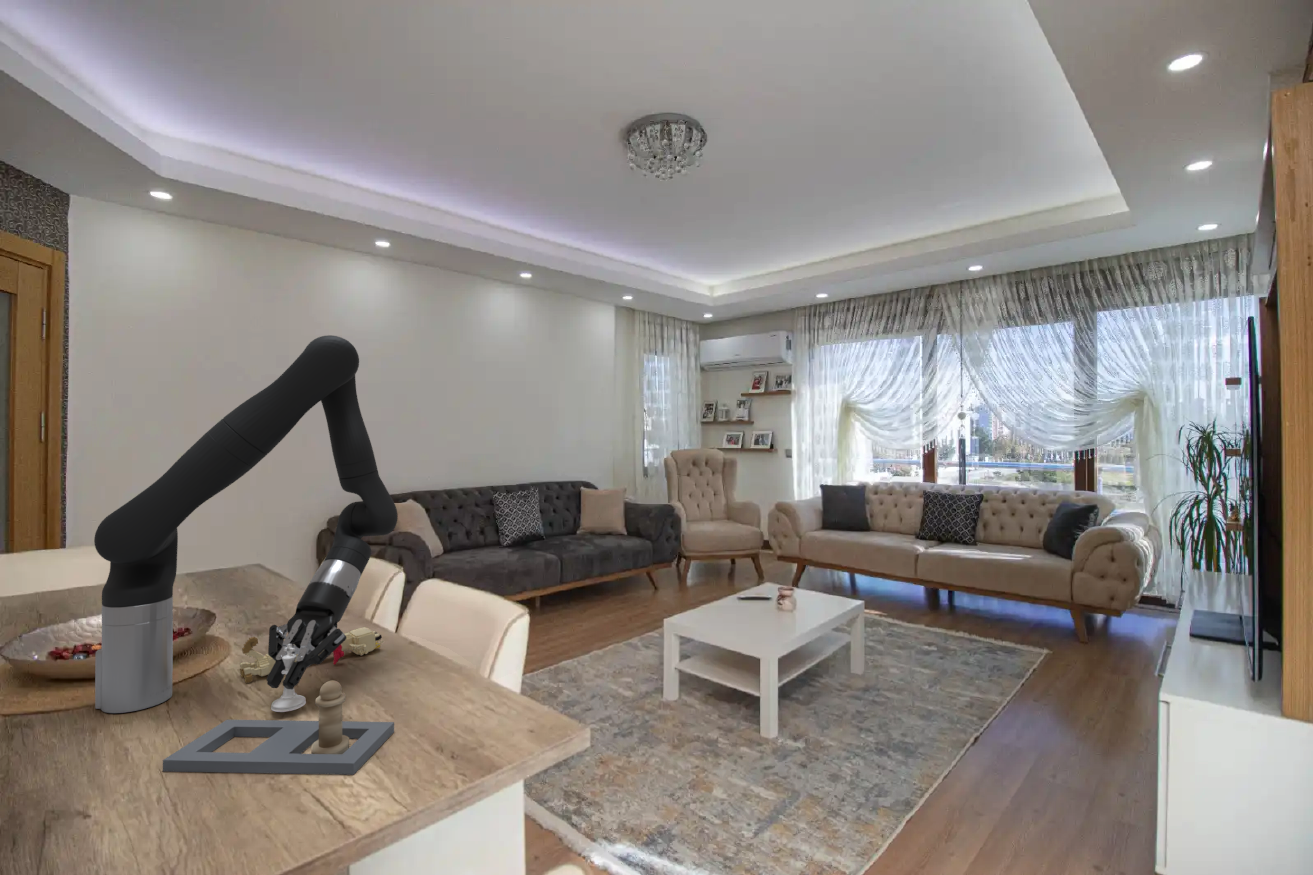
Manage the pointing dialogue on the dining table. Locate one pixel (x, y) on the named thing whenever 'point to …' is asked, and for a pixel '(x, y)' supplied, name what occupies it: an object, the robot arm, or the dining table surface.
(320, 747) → the pawn
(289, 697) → the chess piece
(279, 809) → the dining table surface
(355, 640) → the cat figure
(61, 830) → the dining table surface
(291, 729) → the grey chess piece holder
